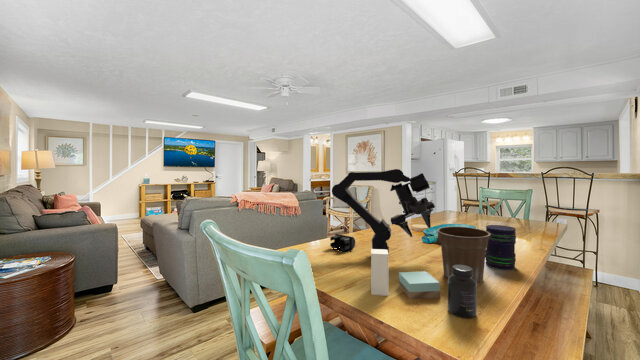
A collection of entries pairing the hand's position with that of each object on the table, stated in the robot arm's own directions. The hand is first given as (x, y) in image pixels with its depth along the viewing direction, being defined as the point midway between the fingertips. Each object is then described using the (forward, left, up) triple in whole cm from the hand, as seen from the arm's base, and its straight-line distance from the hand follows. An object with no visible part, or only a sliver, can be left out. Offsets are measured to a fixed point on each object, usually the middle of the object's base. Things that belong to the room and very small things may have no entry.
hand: (420, 232), depth 116 cm
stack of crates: (+17, +27, -12) cm, 34 cm away
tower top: (-9, -31, -10) cm, 33 cm away
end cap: (-32, +13, -12) cm, 37 cm away
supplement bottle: (0, -43, -12) cm, 45 cm away
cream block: (-20, -32, -12) cm, 40 cm away
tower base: (-8, -31, -12) cm, 34 cm away
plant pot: (+10, -18, -12) cm, 24 cm away
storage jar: (+29, -5, -12) cm, 31 cm away
